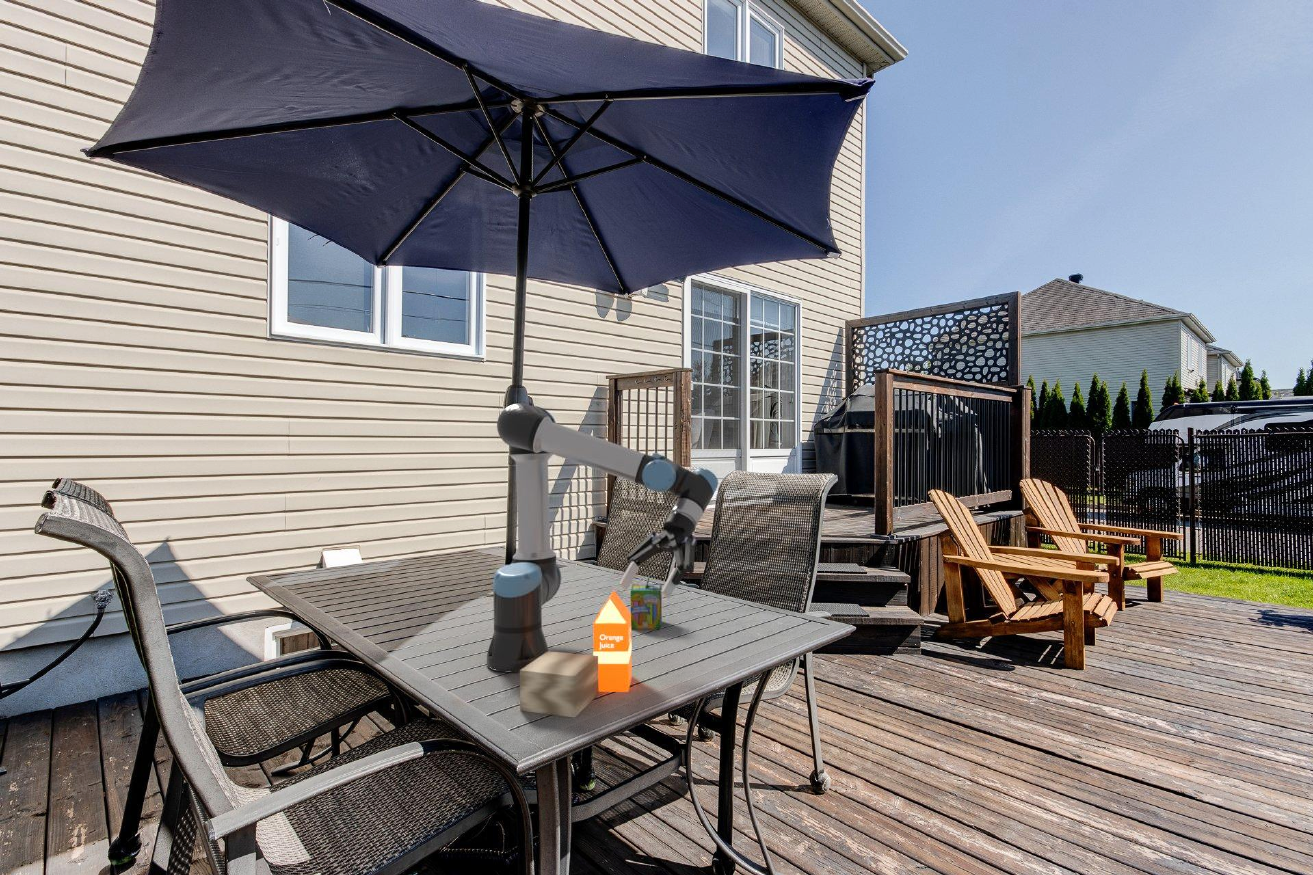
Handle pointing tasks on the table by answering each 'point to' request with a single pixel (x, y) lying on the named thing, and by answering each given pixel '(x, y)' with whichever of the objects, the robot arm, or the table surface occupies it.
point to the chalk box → (646, 606)
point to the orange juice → (613, 645)
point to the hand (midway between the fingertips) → (643, 590)
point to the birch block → (559, 683)
